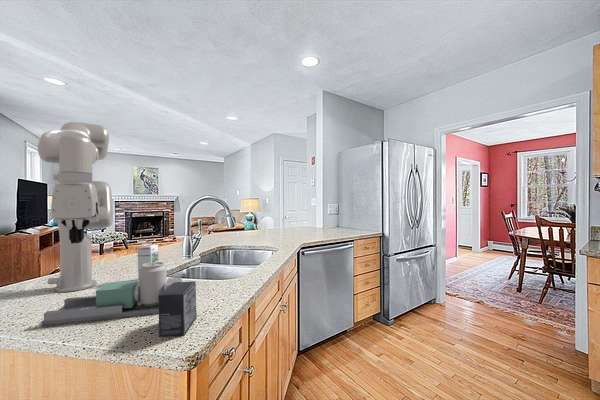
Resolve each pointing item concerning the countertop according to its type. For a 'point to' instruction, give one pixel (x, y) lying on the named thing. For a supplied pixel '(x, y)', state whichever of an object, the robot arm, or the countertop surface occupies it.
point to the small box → (177, 309)
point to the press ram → (118, 293)
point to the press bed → (126, 313)
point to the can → (151, 282)
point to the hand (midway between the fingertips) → (76, 242)
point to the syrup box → (147, 255)
